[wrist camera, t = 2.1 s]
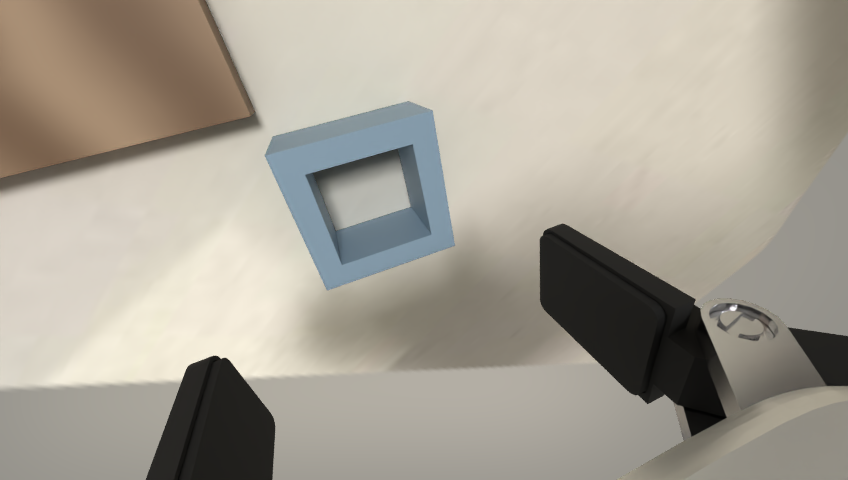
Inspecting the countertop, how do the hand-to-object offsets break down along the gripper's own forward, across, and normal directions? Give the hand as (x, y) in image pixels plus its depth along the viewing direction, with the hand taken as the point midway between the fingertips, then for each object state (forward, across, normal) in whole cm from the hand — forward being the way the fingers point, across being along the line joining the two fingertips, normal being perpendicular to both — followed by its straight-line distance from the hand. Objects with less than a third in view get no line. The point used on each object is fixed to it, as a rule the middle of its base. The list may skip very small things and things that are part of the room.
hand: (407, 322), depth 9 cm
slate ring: (+12, -1, 0) cm, 12 cm away
